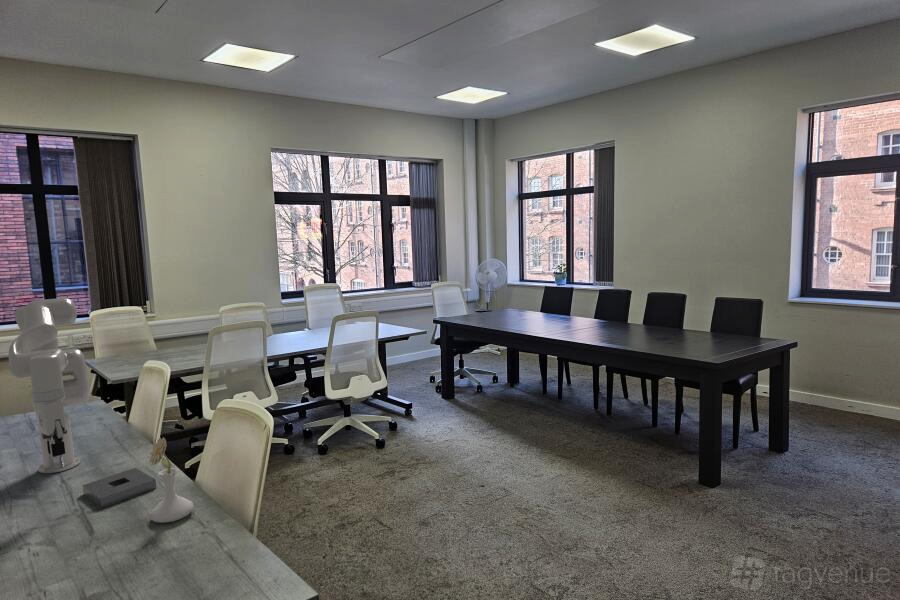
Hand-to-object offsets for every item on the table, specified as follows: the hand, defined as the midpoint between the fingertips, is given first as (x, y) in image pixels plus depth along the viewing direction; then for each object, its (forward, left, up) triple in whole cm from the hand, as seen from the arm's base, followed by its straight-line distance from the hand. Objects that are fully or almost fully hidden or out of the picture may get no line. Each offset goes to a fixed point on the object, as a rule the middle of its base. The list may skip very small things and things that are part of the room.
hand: (57, 453), depth 166 cm
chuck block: (+2, +15, -18) cm, 23 cm away
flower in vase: (+35, +17, -18) cm, 43 cm away
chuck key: (0, 0, -4) cm, 4 cm away
